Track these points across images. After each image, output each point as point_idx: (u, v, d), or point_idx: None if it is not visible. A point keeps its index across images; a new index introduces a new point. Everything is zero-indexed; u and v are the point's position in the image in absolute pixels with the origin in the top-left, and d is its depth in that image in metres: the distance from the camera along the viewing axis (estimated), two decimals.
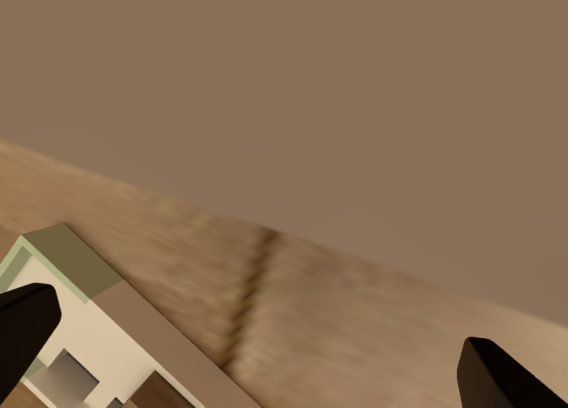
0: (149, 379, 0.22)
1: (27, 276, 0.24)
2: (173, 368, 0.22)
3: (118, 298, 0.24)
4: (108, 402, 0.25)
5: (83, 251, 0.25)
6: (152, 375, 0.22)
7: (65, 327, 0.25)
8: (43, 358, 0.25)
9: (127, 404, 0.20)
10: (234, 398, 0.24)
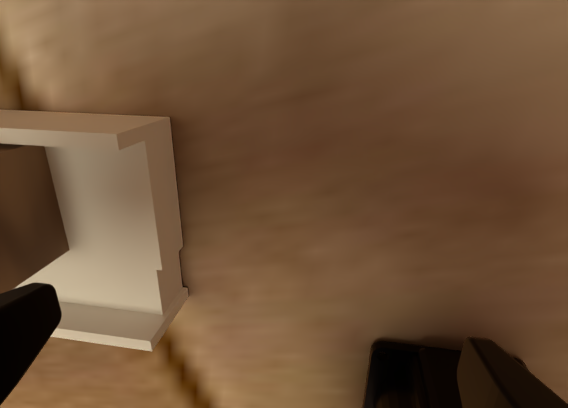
0: None
1: None
2: None
3: None
4: None
5: None
6: None
7: None
8: None
9: None
10: (39, 116, 0.13)
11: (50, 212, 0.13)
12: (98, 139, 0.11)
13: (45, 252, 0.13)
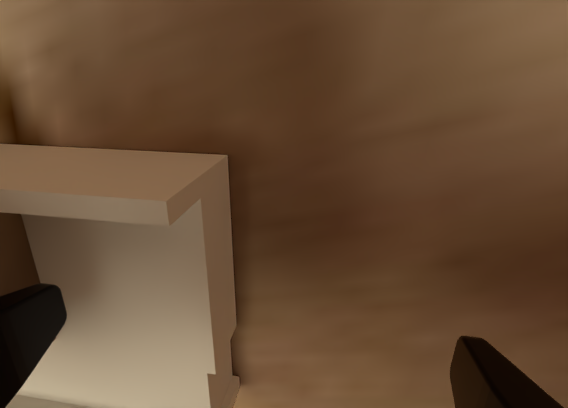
0: None
1: None
2: None
3: None
4: None
5: None
6: None
7: None
8: None
9: None
10: (40, 157, 0.09)
11: None
12: (135, 208, 0.07)
13: None
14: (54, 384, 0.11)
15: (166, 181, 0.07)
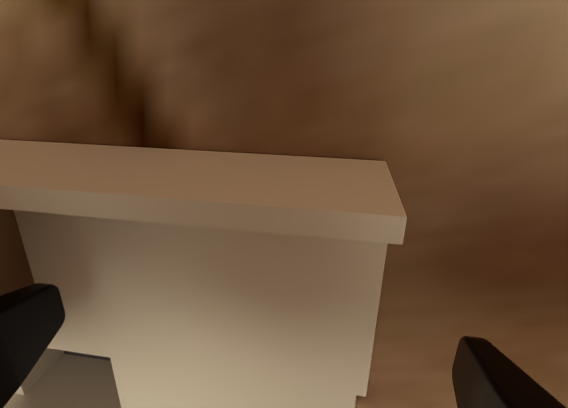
0: None
1: None
2: None
3: None
4: None
5: None
6: None
7: None
8: None
9: None
10: (189, 162, 0.08)
11: None
12: (365, 224, 0.06)
13: None
14: (173, 403, 0.10)
15: (369, 192, 0.07)
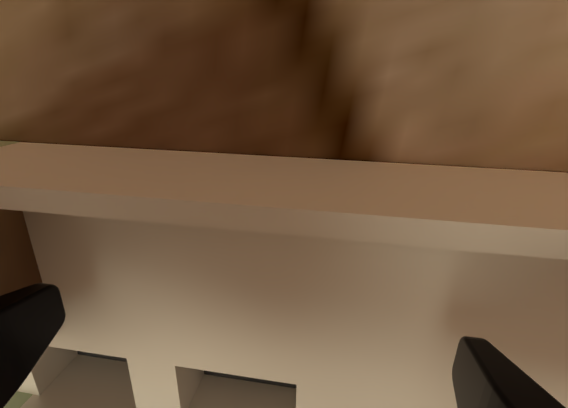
0: None
1: None
2: (198, 190, 0.07)
3: None
4: (174, 385, 0.10)
5: None
6: None
7: None
8: None
9: None
10: (425, 178, 0.08)
11: None
12: None
13: None
14: None
15: None
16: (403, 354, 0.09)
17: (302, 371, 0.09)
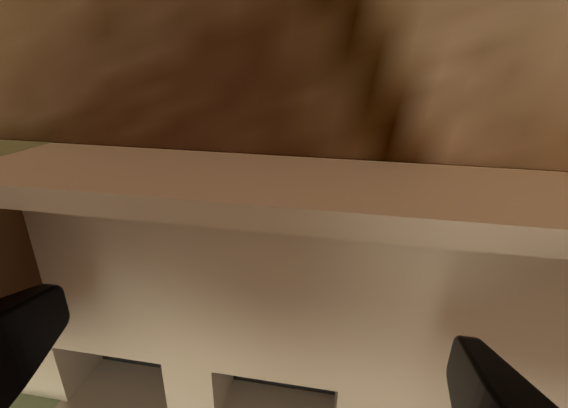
0: None
1: None
2: (254, 194, 0.07)
3: (29, 160, 0.08)
4: (209, 392, 0.10)
5: None
6: None
7: None
8: (46, 390, 0.11)
9: None
10: (481, 181, 0.08)
11: None
12: None
13: None
14: None
15: None
16: None
17: (345, 378, 0.09)
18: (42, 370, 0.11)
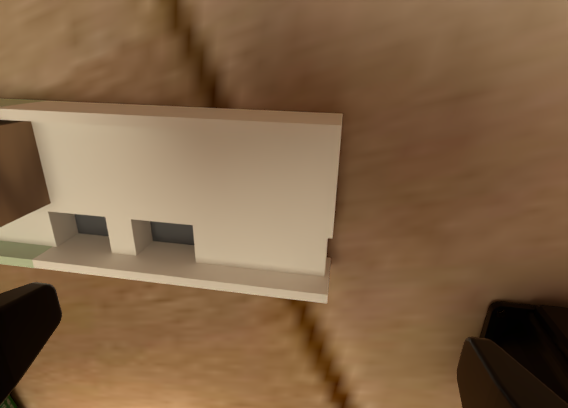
0: None
1: None
2: (132, 113, 0.16)
3: (37, 104, 0.18)
4: (131, 232, 0.19)
5: None
6: None
7: None
8: (45, 240, 0.20)
9: None
10: (242, 112, 0.17)
11: (35, 172, 0.18)
12: (325, 129, 0.14)
13: (31, 201, 0.18)
14: (226, 253, 0.19)
15: (329, 120, 0.15)
16: (239, 202, 0.17)
17: (194, 216, 0.18)
18: (42, 226, 0.20)
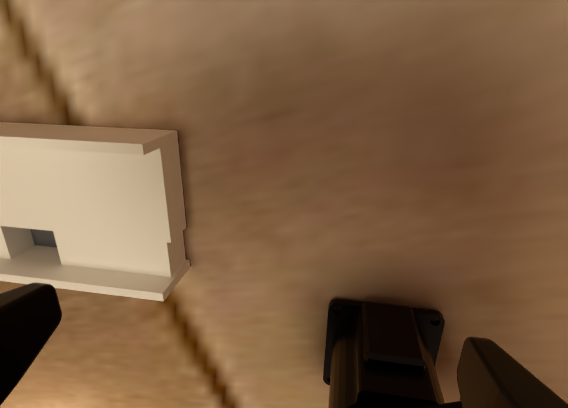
0: None
1: None
2: None
3: None
4: (2, 237, 0.21)
5: None
6: None
7: None
8: None
9: None
10: (83, 130, 0.19)
11: None
12: (129, 147, 0.16)
13: None
14: (86, 256, 0.21)
15: (143, 138, 0.17)
16: (88, 210, 0.19)
17: (53, 223, 0.20)
18: None
